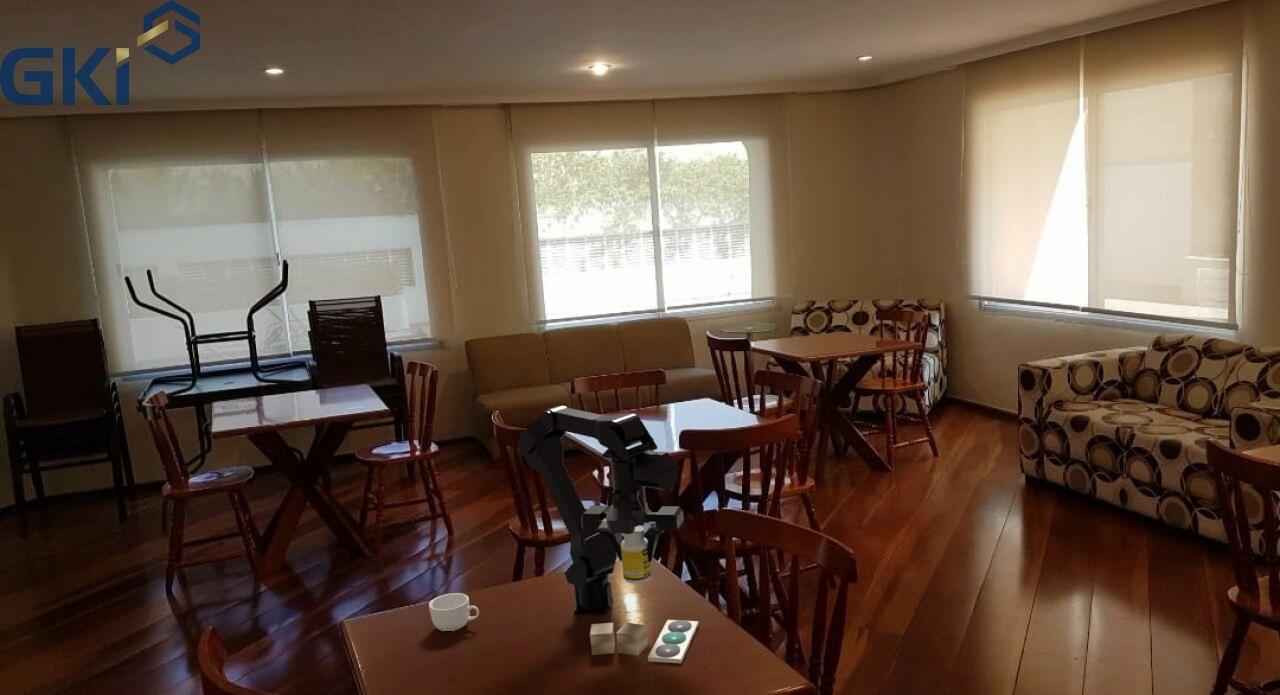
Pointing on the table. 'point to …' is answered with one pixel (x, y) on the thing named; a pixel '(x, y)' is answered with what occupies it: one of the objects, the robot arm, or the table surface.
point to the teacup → (451, 611)
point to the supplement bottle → (635, 557)
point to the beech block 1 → (602, 638)
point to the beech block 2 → (632, 639)
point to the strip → (673, 641)
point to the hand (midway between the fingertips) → (636, 560)
